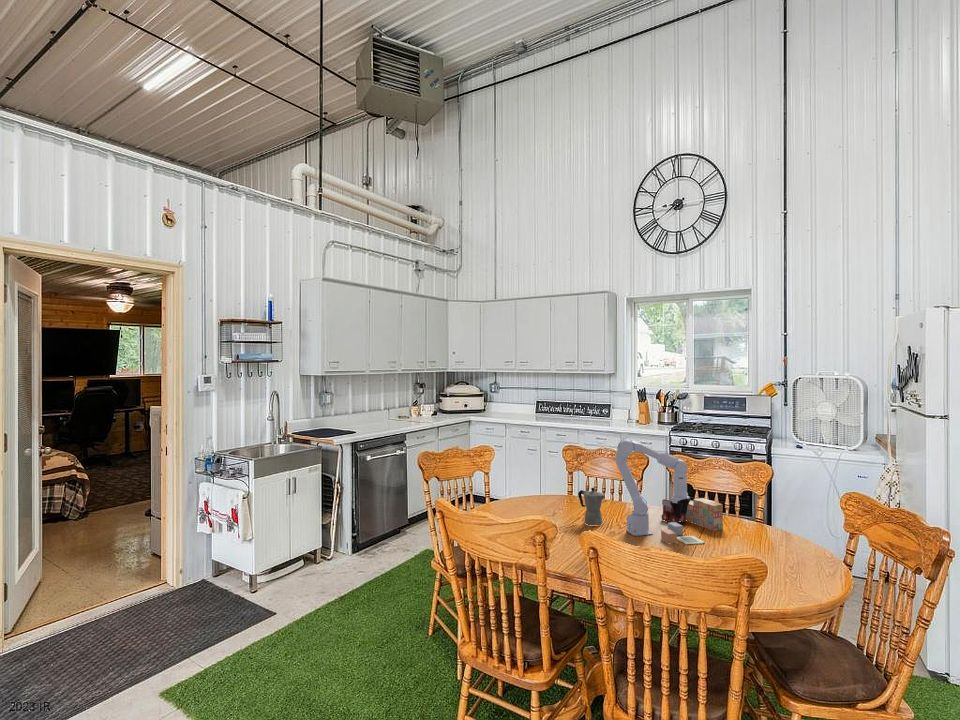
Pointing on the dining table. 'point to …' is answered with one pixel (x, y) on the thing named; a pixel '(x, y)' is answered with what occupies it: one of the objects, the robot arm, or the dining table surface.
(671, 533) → the terracotta brick
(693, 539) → the baseplate
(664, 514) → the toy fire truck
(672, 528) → the slate brick
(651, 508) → the dining table surface
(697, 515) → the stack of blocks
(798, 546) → the dining table surface
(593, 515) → the coffeepot
